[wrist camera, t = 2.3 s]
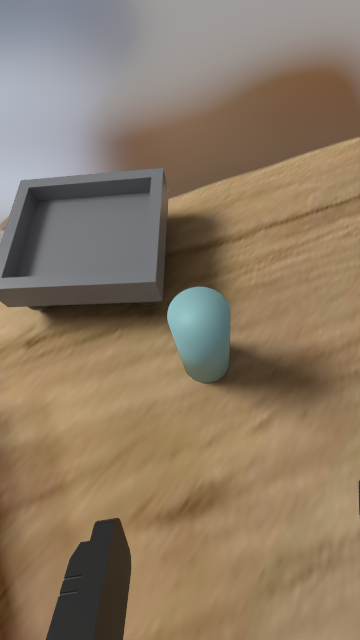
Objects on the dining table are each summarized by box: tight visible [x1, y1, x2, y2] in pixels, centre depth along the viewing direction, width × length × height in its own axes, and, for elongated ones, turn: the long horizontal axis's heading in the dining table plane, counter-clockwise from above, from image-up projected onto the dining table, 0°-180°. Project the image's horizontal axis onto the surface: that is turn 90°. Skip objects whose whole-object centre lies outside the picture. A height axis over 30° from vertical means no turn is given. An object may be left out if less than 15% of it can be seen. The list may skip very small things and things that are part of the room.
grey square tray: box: [0, 168, 169, 310], centre depth 36 cm, size 16×14×6 cm
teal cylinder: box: [167, 287, 230, 383], centre depth 28 cm, size 4×4×10 cm
